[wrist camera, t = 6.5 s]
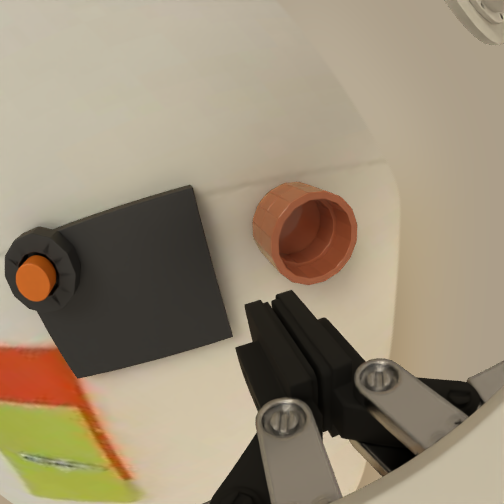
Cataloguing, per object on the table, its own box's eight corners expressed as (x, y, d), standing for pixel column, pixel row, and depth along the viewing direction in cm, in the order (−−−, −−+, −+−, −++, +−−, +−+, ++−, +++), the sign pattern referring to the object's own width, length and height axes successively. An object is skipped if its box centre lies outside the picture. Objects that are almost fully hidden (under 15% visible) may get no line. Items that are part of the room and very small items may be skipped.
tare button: (18, 261, 16) (9, 270, 14) (47, 249, 16) (39, 258, 15) (33, 295, 17) (26, 306, 15) (62, 285, 17) (56, 296, 16)
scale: (10, 235, 17) (-7, 249, 15) (187, 174, 20) (192, 179, 17) (77, 369, 22) (72, 392, 20) (229, 327, 25) (238, 349, 22)
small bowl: (265, 170, 21) (291, 178, 17) (335, 195, 24) (369, 207, 20) (239, 251, 23) (257, 275, 19) (309, 266, 25) (337, 290, 21)
